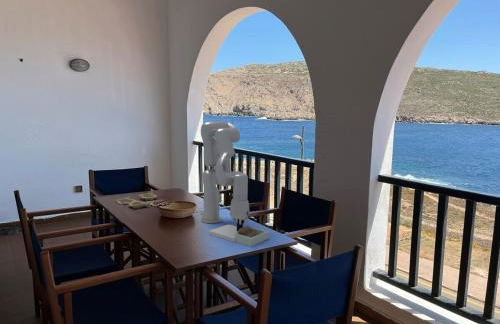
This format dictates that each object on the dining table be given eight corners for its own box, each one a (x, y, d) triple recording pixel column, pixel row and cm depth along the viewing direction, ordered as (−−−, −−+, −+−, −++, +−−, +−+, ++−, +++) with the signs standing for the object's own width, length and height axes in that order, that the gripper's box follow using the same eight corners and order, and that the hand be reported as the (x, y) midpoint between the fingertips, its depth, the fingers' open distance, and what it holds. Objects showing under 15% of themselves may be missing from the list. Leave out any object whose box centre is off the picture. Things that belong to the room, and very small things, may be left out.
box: (234, 241, 192) (235, 234, 191) (252, 234, 204) (253, 227, 203) (250, 246, 185) (251, 238, 185) (268, 238, 197) (268, 231, 197)
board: (208, 234, 202) (208, 230, 202) (228, 227, 215) (228, 224, 214) (234, 242, 191) (234, 238, 191) (253, 234, 204) (253, 230, 204)
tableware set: (112, 202, 270) (112, 196, 270) (150, 196, 290) (150, 191, 289) (134, 212, 245) (134, 206, 244) (173, 205, 264) (173, 199, 264)
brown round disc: (237, 233, 196) (239, 228, 195) (245, 230, 201) (247, 225, 200) (246, 241, 192) (248, 236, 191) (254, 238, 198) (256, 233, 197)
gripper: (224, 196, 198) (224, 229, 201) (247, 200, 189) (246, 235, 192) (234, 194, 204) (233, 226, 207) (255, 198, 195) (255, 232, 197)
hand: (239, 231), depth 199 cm, fingers closed
